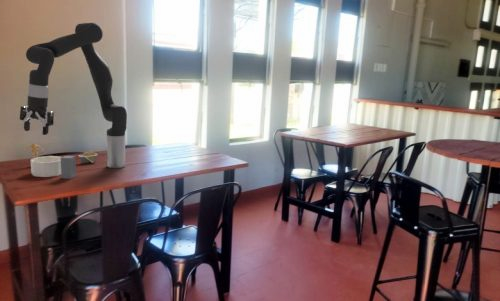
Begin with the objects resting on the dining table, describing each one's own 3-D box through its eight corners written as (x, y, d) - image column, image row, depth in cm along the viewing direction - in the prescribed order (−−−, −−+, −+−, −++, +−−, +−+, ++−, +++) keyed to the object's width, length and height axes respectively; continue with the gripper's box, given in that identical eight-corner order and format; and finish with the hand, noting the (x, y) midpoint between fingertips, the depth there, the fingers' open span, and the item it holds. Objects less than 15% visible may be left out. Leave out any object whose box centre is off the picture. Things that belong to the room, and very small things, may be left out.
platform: (109, 163, 214) (109, 152, 213) (76, 168, 202) (75, 155, 201) (100, 159, 223) (100, 148, 221) (68, 163, 210) (67, 151, 209)
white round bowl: (43, 168, 196) (42, 155, 194) (69, 170, 195) (68, 157, 193) (25, 175, 182) (24, 161, 181) (53, 177, 181) (52, 163, 180)
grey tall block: (66, 175, 186) (66, 155, 184) (76, 176, 186) (75, 156, 184) (61, 178, 181) (60, 157, 179) (70, 178, 181) (69, 158, 179)
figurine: (27, 168, 196) (26, 145, 193) (25, 165, 200) (24, 142, 198) (45, 166, 201) (44, 143, 198) (43, 163, 205) (41, 141, 203)
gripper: (59, 98, 164) (56, 134, 167) (29, 91, 166) (27, 128, 169) (47, 99, 157) (44, 137, 160) (16, 92, 158) (14, 130, 162)
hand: (35, 132), depth 165 cm, fingers open, 8 cm apart
